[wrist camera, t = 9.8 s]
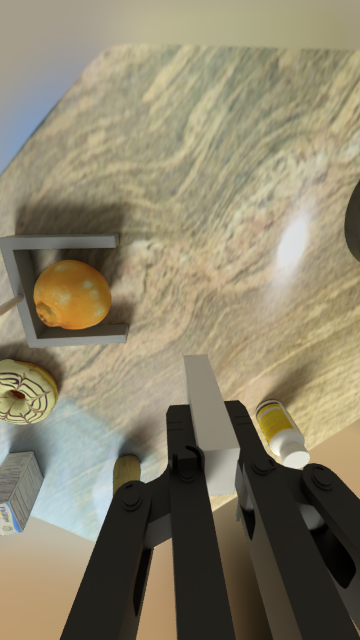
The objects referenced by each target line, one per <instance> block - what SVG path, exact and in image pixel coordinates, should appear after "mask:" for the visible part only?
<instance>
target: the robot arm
mask: <svg viewBox="0 0 360 640" xmlns="http://www.w3.org/2000/svg"><path fill="white" fill-rule="evenodd" d="M345 238H346V242H347V245H348V248H349V250H350V252H351V253H352V255H353V256H354V257H355V258H356V259H357V260H358V261H359V262H360V182H359V184H358V185H357V187H356V189H355V191H354V193H353V195H352V197H351V199H350V202H349V205H348V208H347V212H346V217H345ZM183 396H184V403H185V405H171V406H169V409H168V411H167V413H166V423H167V446H168V465H167V468H166V470H165V471H164V473H163V474H162V475H161V476H160V477H158V478H156V479H155V480H153V481H150V482H148V483H146V484H145V483H144V482H141V481H139V480H131V481H128V482H126V483H124V484H123V485H121V486H120V487H119V488H118V489H117V491H116V493H115V494H114V496H113V499H112V501H111V504H110V507H109V509H108V512H107V515H106V517H105V520H104V523H103V525H102V528H101V531H100V533H99V536H98V539H97V541H96V544H95V547H94V549H93V552H92V555H91V557H90V560H89V563H88V566H87V568H86V571H85V573H84V577H83V579H82V582H81V584H80V587H79V589H78V592H77V595H76V598H75V600H74V603H73V605H72V608H71V611H70V613H69V616H68V619H67V622H66V624H65V627H64V629H63V632H62V635H61V637H60V640H136V636H137V631H138V626H139V621H140V616H141V611H142V606H143V600H144V596H145V591H146V586H147V580H148V575H149V570H150V565H151V560H152V555H153V550H154V547H155V546H157V545H159V544H161V543H163V542H164V541H166V540H168V539H170V538H171V537H172V550H173V570H174V588H175V589H174V590H175V609H176V629H177V640H236V638H235V633H234V628H233V622H232V617H231V611H230V606H229V601H228V595H227V590H226V584H225V579H224V574H223V568H222V563H221V558H220V552H219V548H218V542H217V537H216V531H215V526H214V520H213V515H212V510H211V504H210V499H209V497H211V496H221V495H231V494H234V491H235V488H236V491H237V495H238V505H237V513H236V519H237V521H239V520H240V518H241V522H242V525H243V529H244V533H245V536H246V540H247V544H248V547H249V551H250V555H251V558H252V562H253V566H254V570H255V573H256V577H257V581H258V584H259V588H260V592H261V595H262V599H263V603H264V606H265V610H266V614H267V618H268V621H269V625H270V629H271V632H272V636H273V640H360V637H359V635H358V632H357V630H356V628H355V626H354V624H353V622H352V620H353V621H354V623H355V624H356V626H357V627H358V629H359V630H360V499H359V498H358V497H357V496H356V495H355V494H354V493H353V492H352V491H351V490H350V489H349V488H348V487H347V486H346V484H345V483H344V482H343V481H342V480H341V479H340V478H339V477H338V476H337V475H336V474H335V473H334V472H333V471H331V470H330V469H329V468H327V467H325V466H323V465H321V464H316V463H312V464H307V465H306V466H305V467H304V468H303V470H298V469H294V468H290V467H286V466H283V465H280V464H279V463H277V462H276V461H275V460H274V459H273V458H272V457H271V456H269V455H268V454H267V452H266V451H265V449H264V447H263V444H262V442H261V440H260V438H259V436H258V433H257V431H256V429H255V427H254V425H253V422H252V420H251V418H250V416H249V414H248V411H247V409H246V407H245V406H244V405H243V404H242V403H241V402H240V401H239V400H235V401H223V398H222V395H221V392H220V389H219V387H218V384H217V381H216V378H215V375H214V372H213V370H212V367H211V364H210V361H209V358H208V355H207V354H203V355H184V356H183ZM349 615H350V616H351V618H352V620H351V618H350V616H349Z"/></svg>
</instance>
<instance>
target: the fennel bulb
mask: <svg viewBox="0 0 360 640" xmlns="http://www.w3.org/2000/svg"><path fill="white" fill-rule="evenodd" d="M140 475H141V468H140V461H139V459H138V458H137V457H135V456H133V455H126V456H123V457H120V458H119V459H117V460H116V462H115V465H114V470H113V496H114V494H115V493H116V491H117V489H118V488H119V487H120V486H121V485H123V484H124V483H126V482H128V481H131V480H139V481H140Z"/></svg>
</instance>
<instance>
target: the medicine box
mask: <svg viewBox="0 0 360 640" xmlns="http://www.w3.org/2000/svg"><path fill="white" fill-rule="evenodd" d="M43 481H44V479H43V477H42V474H41V471H40V469H39V466H38V463H37V461H36V458H35V455H34V452H33V451H30V452H19V453H10V454H8V455H7V456H6V458H5V460H4V462H3V463H2V465H1V467H0V535H6V534H14V533H20V532H23V530H24V527H25V525H26V523H27V521H28V518H29V516H30V513H31V510H32V508H33V506H34V503H35V501H36V498H37V496H38V493H39V491H40V488H41V486H42V483H43Z"/></svg>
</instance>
